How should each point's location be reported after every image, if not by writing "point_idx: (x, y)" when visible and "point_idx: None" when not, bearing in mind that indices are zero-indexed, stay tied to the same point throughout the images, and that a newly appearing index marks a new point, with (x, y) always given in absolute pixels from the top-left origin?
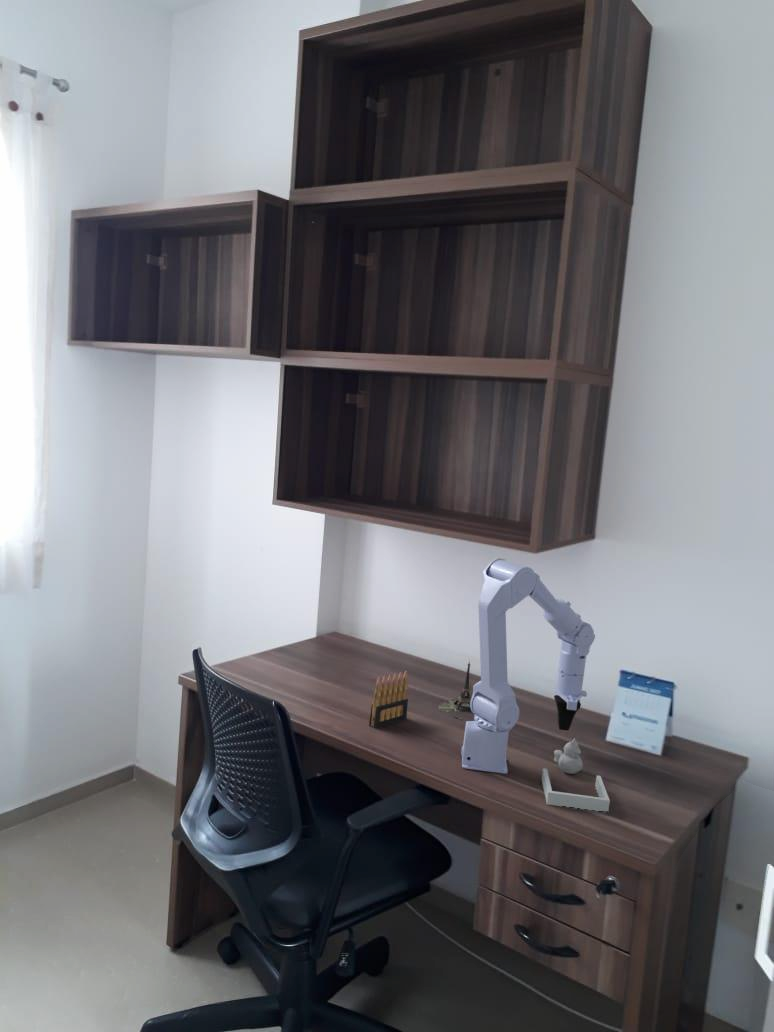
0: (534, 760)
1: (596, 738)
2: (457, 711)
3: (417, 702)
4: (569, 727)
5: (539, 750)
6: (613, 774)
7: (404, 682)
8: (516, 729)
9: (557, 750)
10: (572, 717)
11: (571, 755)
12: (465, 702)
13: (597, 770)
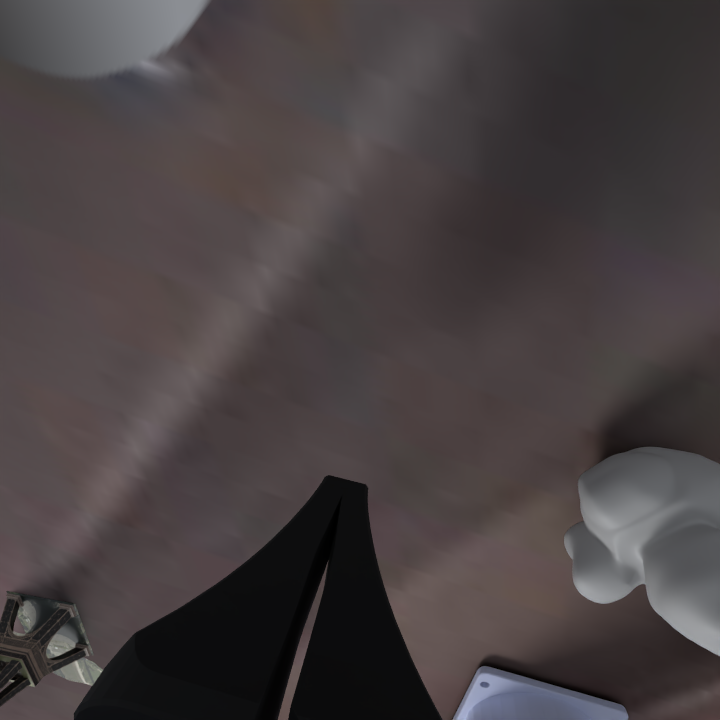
0: (491, 572)
1: (153, 140)
2: (91, 649)
3: None
4: (367, 500)
5: (383, 518)
6: (710, 228)
7: None
8: (179, 528)
9: (608, 601)
10: (381, 583)
11: None
12: (43, 660)
13: (633, 317)
